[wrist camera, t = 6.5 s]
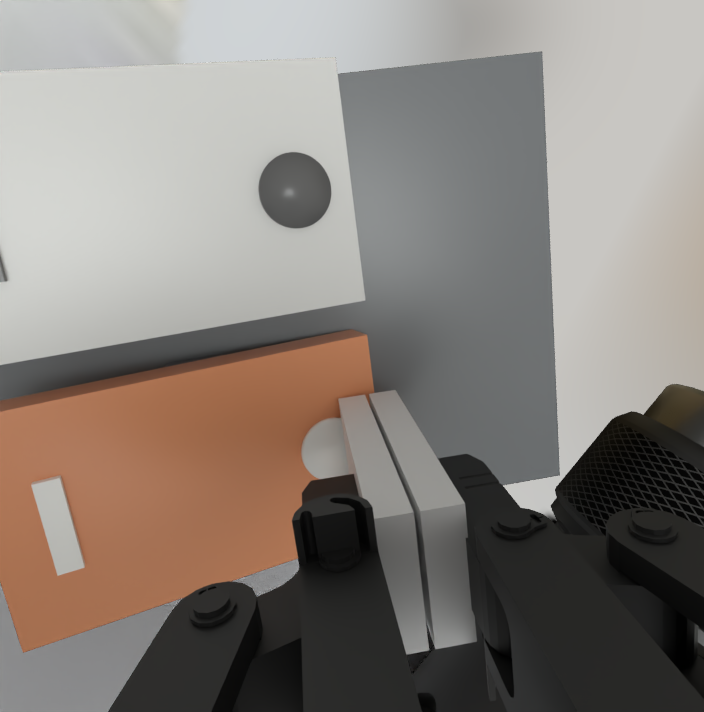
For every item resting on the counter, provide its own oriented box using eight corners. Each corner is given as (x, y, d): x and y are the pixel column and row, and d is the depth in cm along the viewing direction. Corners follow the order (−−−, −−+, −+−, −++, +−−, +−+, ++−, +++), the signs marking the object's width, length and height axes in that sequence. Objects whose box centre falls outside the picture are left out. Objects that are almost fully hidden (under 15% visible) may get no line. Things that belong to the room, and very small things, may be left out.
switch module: (-203, 541, 21) (-378, 653, 15) (-350, 189, 18) (-634, 171, 12) (503, 424, 23) (570, 484, 18) (480, 93, 20) (553, 43, 15)
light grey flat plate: (-43, 365, 13) (-66, 377, 12) (-127, 94, 12) (-164, 75, 10) (351, 296, 16) (368, 301, 15) (322, 71, 14) (337, 55, 13)
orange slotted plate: (30, 622, 14) (21, 657, 13) (-37, 408, 13) (-54, 424, 12) (374, 509, 18) (393, 529, 17) (350, 329, 16) (369, 335, 15)
